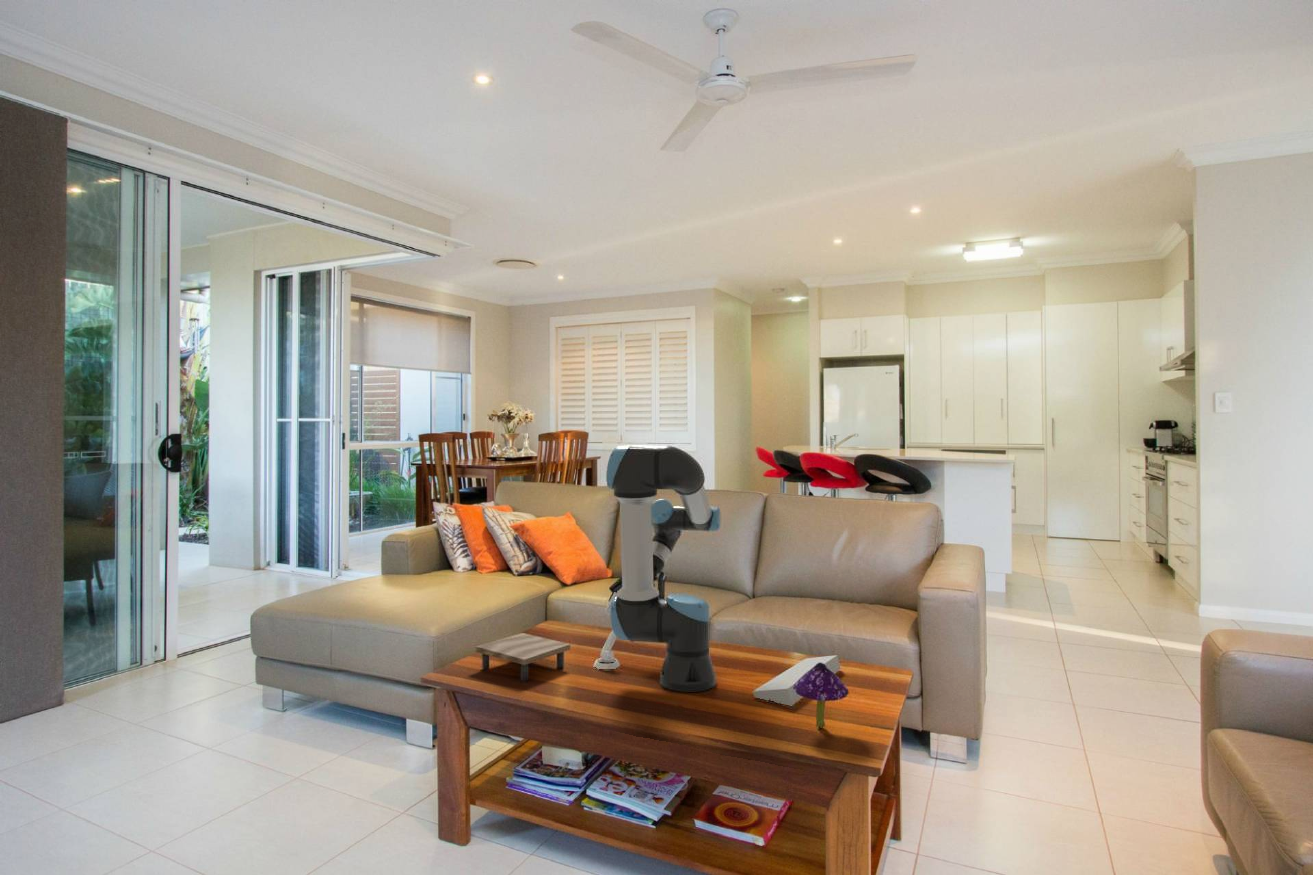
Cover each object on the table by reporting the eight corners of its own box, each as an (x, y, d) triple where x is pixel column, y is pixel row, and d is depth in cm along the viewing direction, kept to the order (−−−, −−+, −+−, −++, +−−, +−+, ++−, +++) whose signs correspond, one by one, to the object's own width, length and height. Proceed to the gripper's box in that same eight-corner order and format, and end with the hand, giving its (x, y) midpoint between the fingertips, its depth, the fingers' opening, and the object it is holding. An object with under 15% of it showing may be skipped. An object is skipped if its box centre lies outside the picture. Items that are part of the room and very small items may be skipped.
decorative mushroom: (822, 744, 150) (822, 675, 150) (781, 725, 160) (781, 660, 160) (860, 731, 157) (860, 665, 157) (818, 713, 167) (819, 651, 167)
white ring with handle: (635, 643, 207) (628, 635, 202) (617, 681, 202) (609, 674, 197) (614, 635, 211) (607, 626, 206) (596, 672, 206) (587, 664, 200)
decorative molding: (756, 710, 177) (792, 708, 171) (752, 691, 178) (787, 688, 172) (809, 674, 205) (841, 672, 199) (805, 658, 206) (837, 655, 200)
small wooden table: (570, 666, 202) (570, 644, 202) (524, 683, 187) (524, 659, 187) (522, 654, 213) (522, 633, 213) (475, 669, 199) (475, 646, 199)
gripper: (691, 570, 217) (663, 629, 205) (629, 562, 232) (599, 616, 220) (682, 556, 213) (652, 614, 201) (619, 548, 228) (588, 602, 215)
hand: (624, 615), depth 210 cm, fingers open, 13 cm apart
